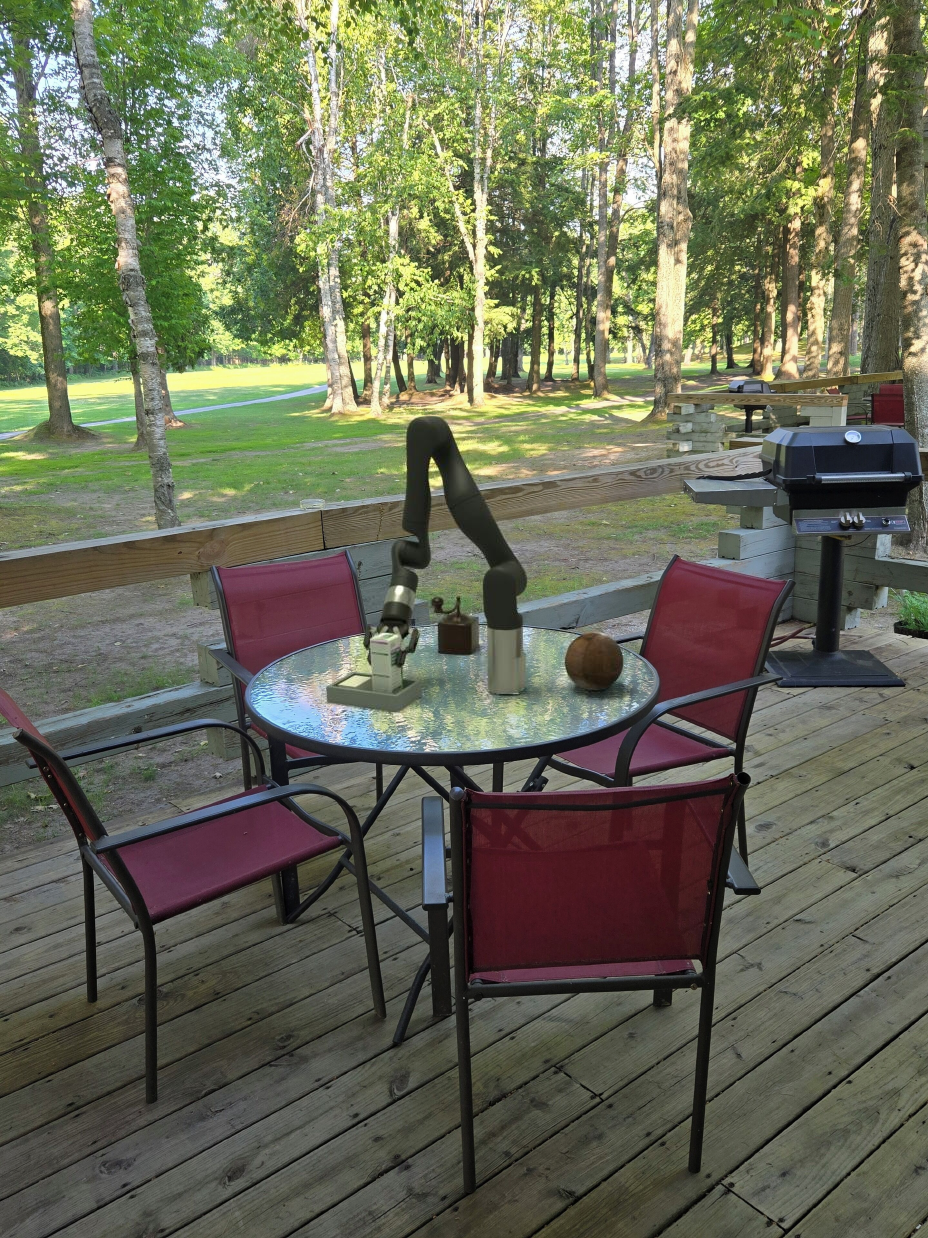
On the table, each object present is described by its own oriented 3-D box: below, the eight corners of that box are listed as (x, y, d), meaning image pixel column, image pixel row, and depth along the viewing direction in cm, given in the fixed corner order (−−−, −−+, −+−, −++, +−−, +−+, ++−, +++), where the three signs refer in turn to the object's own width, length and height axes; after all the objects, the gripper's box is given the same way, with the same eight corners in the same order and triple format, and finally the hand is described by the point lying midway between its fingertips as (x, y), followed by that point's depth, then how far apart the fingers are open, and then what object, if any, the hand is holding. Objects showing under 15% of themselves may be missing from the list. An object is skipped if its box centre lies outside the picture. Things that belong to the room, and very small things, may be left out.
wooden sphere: (631, 685, 237) (633, 630, 233) (607, 702, 225) (608, 644, 221) (580, 676, 245) (581, 623, 241) (554, 692, 233) (554, 636, 229)
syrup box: (391, 697, 222) (390, 640, 218) (371, 693, 224) (369, 637, 221) (403, 690, 227) (402, 634, 223) (383, 686, 229) (382, 631, 226)
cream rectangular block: (372, 692, 232) (371, 677, 231) (356, 702, 225) (355, 686, 224) (355, 690, 234) (355, 675, 233) (339, 699, 227) (338, 684, 226)
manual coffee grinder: (445, 643, 279) (444, 586, 274) (480, 645, 276) (479, 588, 271) (429, 658, 264) (428, 598, 260) (466, 660, 261) (465, 600, 257)
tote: (422, 699, 229) (421, 680, 228) (397, 716, 218) (396, 696, 217) (354, 689, 238) (353, 671, 236) (327, 705, 226) (326, 686, 225)
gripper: (367, 598, 229) (352, 656, 221) (422, 601, 225) (408, 660, 217) (375, 613, 235) (361, 670, 227) (428, 616, 232) (416, 674, 224)
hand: (384, 665), depth 222 cm, fingers closed on syrup box, 6 cm apart
